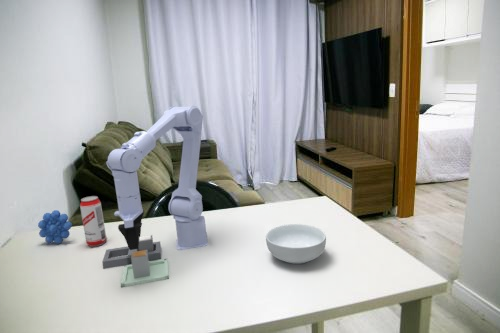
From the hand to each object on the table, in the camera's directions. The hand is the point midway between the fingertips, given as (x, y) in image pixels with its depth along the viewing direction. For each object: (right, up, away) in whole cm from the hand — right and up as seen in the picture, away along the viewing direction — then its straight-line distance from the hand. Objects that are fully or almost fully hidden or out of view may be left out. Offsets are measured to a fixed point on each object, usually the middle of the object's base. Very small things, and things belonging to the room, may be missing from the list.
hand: (135, 242), depth 92 cm
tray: (+2, -9, +2) cm, 10 cm away
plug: (+1, -9, +1) cm, 9 cm away
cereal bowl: (+44, -6, +7) cm, 45 cm away
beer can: (-21, -6, +23) cm, 32 cm away
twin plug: (0, -7, +12) cm, 14 cm away
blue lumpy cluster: (-35, -6, +26) cm, 44 cm away
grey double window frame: (-4, -7, +11) cm, 14 cm away
